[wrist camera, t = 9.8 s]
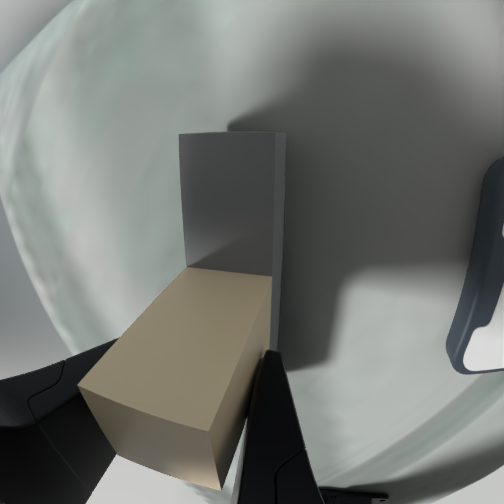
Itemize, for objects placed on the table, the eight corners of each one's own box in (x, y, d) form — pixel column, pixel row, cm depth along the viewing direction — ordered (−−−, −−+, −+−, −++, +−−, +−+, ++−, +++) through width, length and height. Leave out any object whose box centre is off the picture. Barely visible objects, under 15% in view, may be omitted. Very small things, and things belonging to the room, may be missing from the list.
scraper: (274, 382, 12) (231, 528, 6) (219, 372, 13) (155, 505, 7) (286, 132, 9) (176, 139, 2) (207, 132, 9) (13, 162, 3)
